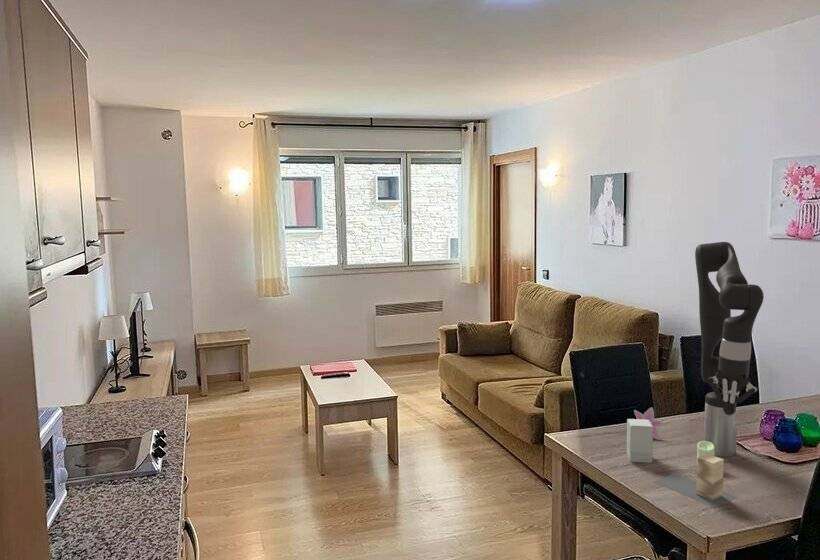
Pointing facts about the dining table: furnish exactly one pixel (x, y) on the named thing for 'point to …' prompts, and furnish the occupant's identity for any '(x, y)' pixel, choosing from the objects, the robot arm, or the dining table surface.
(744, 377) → the robot arm
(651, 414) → the lily
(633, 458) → the supplement box
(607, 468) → the dining table surface
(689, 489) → the mat
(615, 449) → the dining table surface
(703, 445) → the candle
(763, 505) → the dining table surface
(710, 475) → the block
